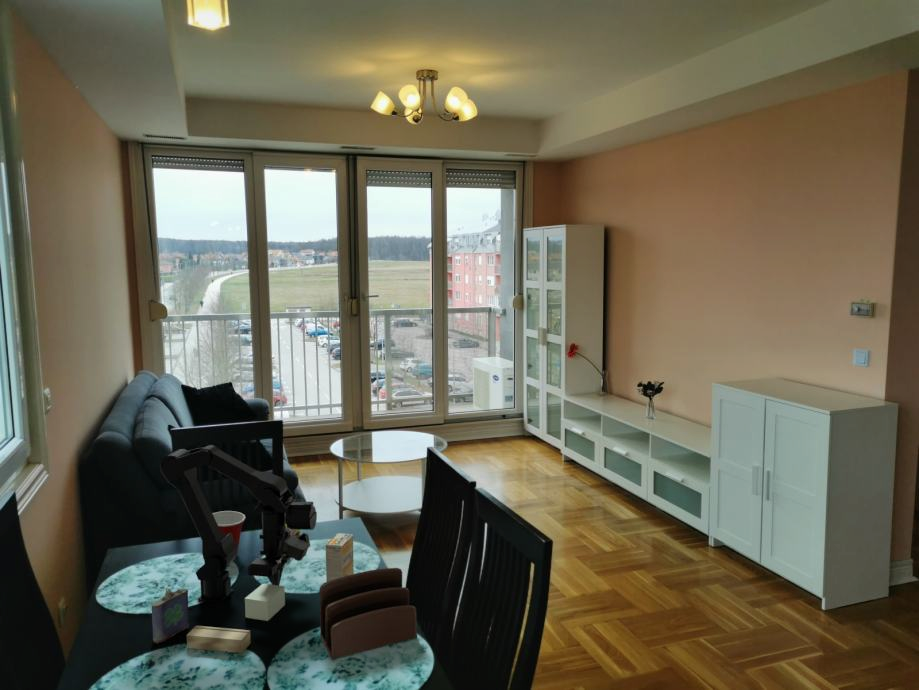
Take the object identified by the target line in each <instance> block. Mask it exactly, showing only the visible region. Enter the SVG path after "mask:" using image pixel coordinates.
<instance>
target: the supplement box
mask: <svg viewBox="0 0 919 690" xmlns="http://www.w3.org/2000/svg"><path fill="white" fill-rule="evenodd" d="M325 567H326V568H325V573H326V575H325V576H326V582H329V581H332V580H335V579H338V578H341V577H345V576H348V575H352V574H355V573H354V572H355V570H354V568H355V566H354V534H352V533H339V532H337V533H336V534H335V535H334V536H333V537H332V538H331V539H330V540H329V541H328V542H327V543H326V544H325Z"/></svg>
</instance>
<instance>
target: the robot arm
mask: <svg viewBox="0 0 919 690" xmlns="http://www.w3.org/2000/svg"><path fill="white" fill-rule="evenodd" d="M204 465H205V466H208V467H209V468H211V469H213V470H215V471H217V472H219V473H220V474H222V475H224V476H225V477H226V478H229V479H231V480H232V481H235V482H236V483H238V484H240V485H241V486H243V487H245V488H246V489H248V491H249V492H250V495H251V496H252V497H254V498H255V499H256V500H257V501H259V502H258V504H257V506H255V508H253V510H252V511H253V513H261V525H262V527H261V529H262V532H261V533H260V534H259V539H260V540H262V548H261V550H259V554H260V555H262V556H265V557H256V558H255V559H254V560H253V561H252V562H251V563H250V564H249V565H248V566H247V575H248V576H253V577H256V576H257V577H267V579H268V580H269V582H270V583H271V585H278V586H280V583H281V580H282V577H283V576H282V575H283V571H284V569H285V568H284V567H285V565H286V564H287V563H288V561H290V559H294V561H297V562H300V561H302V560H303V559H304V558H305V557H306V555H307V552H308V550H309V548H310V547H311V541H310V537H309V534H308V533H305V532H302V533H300V536H299V537H297V536H291V535H290V531H289V529H286V525H287V528H290V529H300V531H301V530H303V531H304V530H305V531H306V530H307V531H308V530H309V531H312V530H314V529H315V527H316V525H317V519H318V517H317V516H318V515H317V513H318V512H317V511H316V507H315V506H314V501H305V502H304V501H297V498H296V497H295V495H294V494H293V493H292V491H291V490H290V488H289V487H288V485H287V481H286V479H284V478H283V477H281V476H280V475H276V474H273V473H270V472H264V471H259V470H257V469H255V468H253V467H251V466H249V465H248V464H246V463H244V462H243V461H241V460H238V459H237V458H235V457H233V456H231V455H230V454H228V453H227V452H224V451H223V450H220V449H219V448H218V447H217V446H216V445H213V444H209V445H207V446H204V447H198V448H193V449H189V450H187V449H186V448H180V449H177V450H176V451H174V452H171V453H169V454H168V455H166V456H165V457H163V458H162V459H161V461H160V464H159V468H160V472H161V474H162V475H163V476H164V478H165V479H166V480H167V482H168V483H169V484H170V485H171V486H173V487H174V488H175V489H177V491H178V492H179V495H180V496H181V498H182V501H183V503H184V505H185V507H186V509H187V511H188V513H189V517H191V520H192V522H193V523H194V526H195V528H196V530H197V533H198V535H199V537H200V539H201V548H202V549H201V553H202V554H201V555H202V559H203V561H204V563H203V565H202V566H201V567H199V568H198V569H197V570H196V571H195V575H196V577H197V580H198V581H200V582H199V583H200V596H198V597H197V601H200V602H210V603H222V602H223V601H224V600H225V599H226V598H228V596H229V595H231V593H232V592H233V591H234V589H233V588H232V579H231V578H232V577H230V571H229V570H227V569H228V568H229V567H230V566H231V565H232V563H233V562H234V560H235V559H236V558H237V556H238V553H237V547H238V548H239V546H238V545H237V544H236V543H235V541H234V539H233V535H232V534H231V533H229V534H228V535H226V534H224V533H223V532H222V531H221V530H220V529H219V527H218V524H217V522H216V520H215V518H214V516H213V512H212V510H211V508H210V506H209V503H208V501H207V499H206V497H205V495H204V493H203V491H202V488H201V486H200V484H199V481H198V467H200V466H204ZM281 499H283V501H282V500H281Z"/></svg>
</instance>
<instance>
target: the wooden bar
mask: <svg viewBox="0 0 919 690" xmlns="http://www.w3.org/2000/svg"><path fill="white" fill-rule="evenodd" d="M251 641H252V640H251V630H246V629H239V628H228V627H227V628H226V627H214V626H206V625H205V626H204V625H195V626H194V627H193V628H192V629H191V630H190V631H189V632H188V633H187V634H186V648H187V649H197V650H206V651H207V650H208V651H215V650H220V651H219V652H225V651H228V652H227V653H236V652H238V653H237V654H242V652H243V653H244V652H245V650H246V649H247V648H248V647H249V646H250V644H251Z"/></svg>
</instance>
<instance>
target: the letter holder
mask: <svg viewBox="0 0 919 690" xmlns="http://www.w3.org/2000/svg"><path fill="white" fill-rule="evenodd" d="M319 613H320V614H319V619H320V622H319V623H320V624H319V626H320V630H319V631H320V639H321V641H322V642H323V645H324V647H325V649H326V651H327V653H328V654H329V657H330V659H331V660H332V659H333V660H336V658H337V659H340V658H344V657H349V656H353V655H356V654H359V653H364V652H367V651H371V650H374V649H375V650H376V649H379V648H384V647H387V646H391V645H394V644H398V643H402V642H407V641H411V640H415V639H417V637H418V632H417V631H418V628H417V626H418V625H417V608H416V606H414V605H412V604H411V605H410V591H409V588H408V587H405V586H404V587H403V571H402V569H401V568H399V567H390V568H389V567H386V568H376V569H371V570H365V571H361V572H358V573H354V574H352V575H348V576H345V577H341V578H338V579H335V580H332V581H329V582H327V581H326V582H324V583H322V584H321V585H320V586H319Z"/></svg>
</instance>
